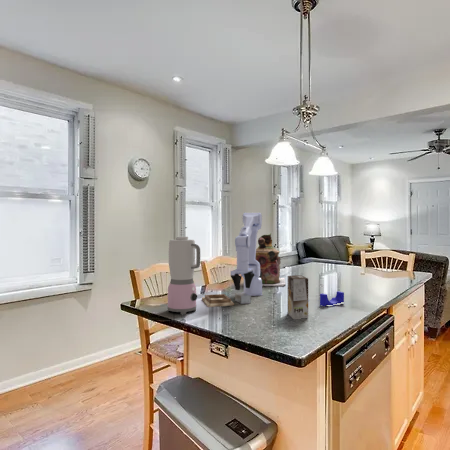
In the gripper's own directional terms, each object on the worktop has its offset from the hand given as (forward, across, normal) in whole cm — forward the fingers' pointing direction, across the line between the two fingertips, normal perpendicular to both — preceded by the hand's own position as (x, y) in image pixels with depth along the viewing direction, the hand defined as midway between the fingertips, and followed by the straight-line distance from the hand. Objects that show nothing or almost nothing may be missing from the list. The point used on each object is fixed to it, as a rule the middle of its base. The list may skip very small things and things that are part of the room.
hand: (242, 288), depth 164 cm
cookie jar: (+7, -49, -26) cm, 56 cm away
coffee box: (+6, +2, +33) cm, 34 cm away
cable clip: (+7, -25, +32) cm, 41 cm away
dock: (+6, +10, -8) cm, 14 cm away
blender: (+6, +31, -4) cm, 32 cm away
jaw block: (+7, 0, 0) cm, 7 cm away
